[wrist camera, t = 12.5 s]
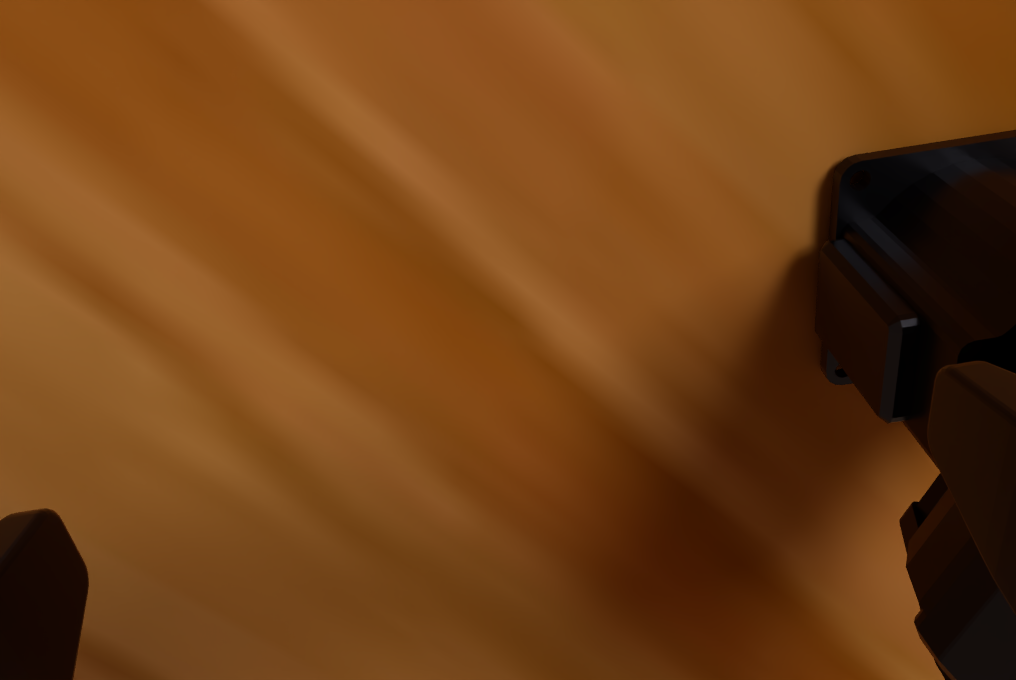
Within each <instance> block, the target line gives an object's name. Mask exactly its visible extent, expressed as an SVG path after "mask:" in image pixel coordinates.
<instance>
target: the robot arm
mask: <svg viewBox="0 0 1016 680" xmlns="http://www.w3.org/2000/svg"><path fill="white" fill-rule="evenodd" d="M861 170H863V171H864V174H863V177H862V179H861V180H860V181H859V182H857V183H855V184H850V180H851V177H852V176H853V175H854V174H855V173H856V172H858V171H861ZM815 332H816V333H817V335H818V336H819V337H820V339H821V340H822V348H821V363H820V365H821V370H822V372H823V373H824V375H825V376H826V378H827V379H828V380H829V381H830V382H831V383H833V384H835V385H845V384H851V383H854V385H855V386H856V388H857V389H858V390H859V392H860V393H861V394H862V396H863V397H864V398H865V400H866V401H867V402H868V404H869V405H870V406H871V408H872V409H873V411H874V412H875V413H876V415H877V416H879V417H880V418H881V419H883V420H884V421H885V422H887V423H894V422H901V421H902V422H903V423H904V425H905V426H906V427H907V429H908V430H909V431H910V432H911V434H912V435H913V436H914V438H915V439H916V440H917V442H918V443H919V444H920V445H921V447H922V448H923V449H924V451H925V452H926V453H927V455H928V456H929V457H930V458H931V460H932V461H933V462H934V464H935V465H936V466H937V467H938V469H939V470H940V472H941V473H940V474H939V476H938V477H937V478H936V480H935V481H934V482H933V484H932V485H931V486H930V488H929V489H928V490H927V492H926V493H925V495H924V496H923V497H922V499H921V500H920V501H919V502H913V503H912V504H911V505H910V506H909V508H908V509H907V510H906V512H905V513H904V515H903V516H902V517H901V519H900V527H901V531H902V535H903V539H904V543H905V547H906V552H907V561H906V568H907V571H908V574H909V577H910V580H911V582H912V585H913V588H914V591H915V594H916V596H917V599H918V602H919V606H920V612H919V613H918V614H917V615H916V617H915V620H914V623H915V626H916V629H917V631H918V634H919V637H920V639H921V640H922V642H923V643H924V645H925V646H926V648H927V649H928V650H929V652H930V653H931V655H932V656H933V657H934V660H935V663H936V665H937V666H938V668H939V670H940V671H941V673H942V675H943V676H944V678H945V680H1016V130H1012V131H1006V132H999V133H993V134H986V135H980V136H974V137H967V138H961V139H954V140H948V141H941V142H935V143H928V144H922V145H916V146H909V147H903V148H896V149H890V150H883V151H877V152H871V153H864V154H858V155H853V156H850V157H847V158H846V159H845V160H843V161H842V162H841V163H840V164H839V165H838V167H837V168H836V169H835V172H834V176H833V186H832V201H831V215H830V230H829V240H827V241H826V242H825V244H824V245H823V247H822V248H821V250H820V253H819V269H818V286H817V302H816V318H815ZM839 364H840V366H841V367H842V368H841V369H838V370H836V367H837V366H838V365H839ZM88 587H89V578H88V572H87V568H86V565H85V563H84V561H83V559H82V557H81V555H80V553H79V551H78V549H77V547H76V546H75V544H74V542H73V540H72V538H71V536H70V534H69V532H68V530H67V529H66V527H65V525H64V523H63V521H62V519H61V518H60V516H59V515H58V514H57V513H56V512H55V511H53V510H50V509H38V510H31V511H25V512H19V513H14V514H10V515H8V516H6V517H5V518H3V519H2V520H1V521H0V680H73V677H74V671H75V665H76V659H77V653H78V647H79V641H80V636H81V630H82V624H83V618H84V612H85V606H86V600H87V594H88Z"/></svg>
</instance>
